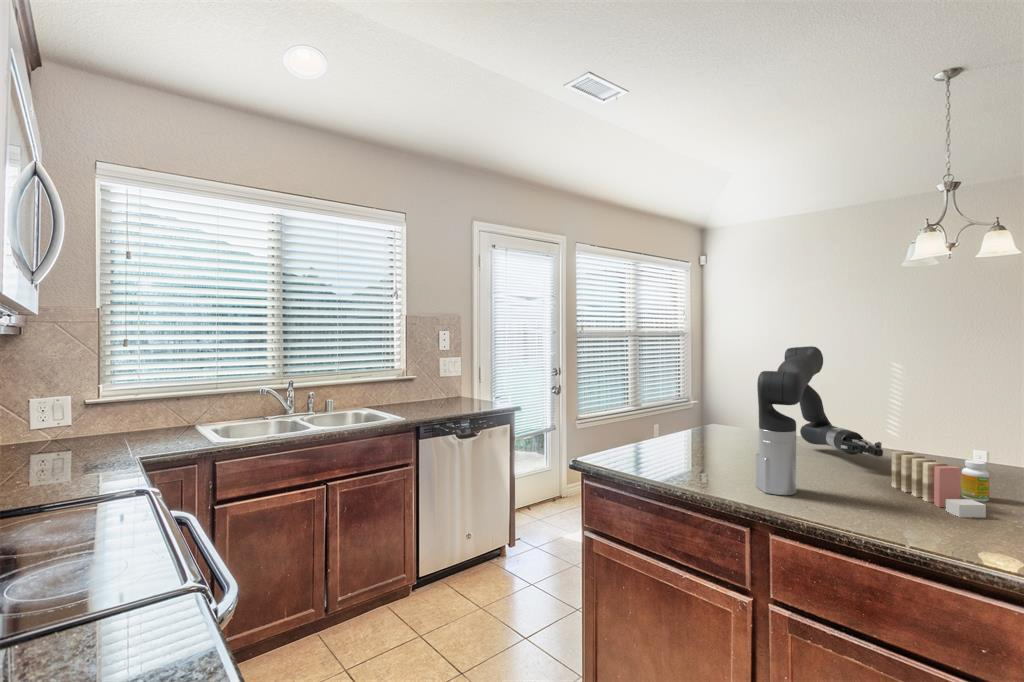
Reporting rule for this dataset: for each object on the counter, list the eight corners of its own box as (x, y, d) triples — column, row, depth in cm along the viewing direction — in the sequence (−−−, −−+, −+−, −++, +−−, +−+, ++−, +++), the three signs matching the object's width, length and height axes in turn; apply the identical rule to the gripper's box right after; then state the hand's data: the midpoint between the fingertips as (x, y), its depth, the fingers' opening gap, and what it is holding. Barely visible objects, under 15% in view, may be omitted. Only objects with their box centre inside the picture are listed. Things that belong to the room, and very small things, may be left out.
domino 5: (939, 507, 126) (939, 467, 125) (934, 505, 127) (934, 466, 127) (959, 507, 125) (960, 468, 125) (954, 505, 127) (954, 466, 127)
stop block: (959, 517, 119) (959, 504, 119) (945, 511, 123) (945, 499, 123) (985, 517, 119) (985, 505, 119) (971, 511, 123) (971, 499, 123)
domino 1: (895, 488, 141) (895, 452, 141) (891, 486, 142) (891, 451, 142) (913, 488, 141) (914, 453, 140) (909, 486, 142) (909, 451, 142)
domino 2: (905, 492, 137) (905, 456, 137) (901, 490, 139) (901, 454, 138) (924, 492, 137) (924, 456, 137) (919, 491, 138) (920, 454, 138)
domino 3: (916, 497, 133) (916, 460, 133) (911, 495, 135) (911, 458, 135) (935, 497, 133) (935, 460, 133) (930, 495, 135) (931, 458, 134)
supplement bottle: (979, 502, 129) (979, 465, 129) (955, 496, 134) (956, 460, 134) (994, 500, 130) (994, 463, 130) (970, 494, 135) (970, 458, 135)
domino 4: (927, 502, 130) (927, 463, 129) (922, 500, 131) (922, 462, 131) (947, 502, 129) (947, 463, 129) (942, 500, 131) (942, 462, 131)
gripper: (824, 429, 168) (857, 440, 151) (864, 429, 167) (903, 440, 150) (824, 451, 168) (857, 465, 151) (864, 451, 168) (902, 465, 150)
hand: (880, 453), depth 151 cm, fingers closed
